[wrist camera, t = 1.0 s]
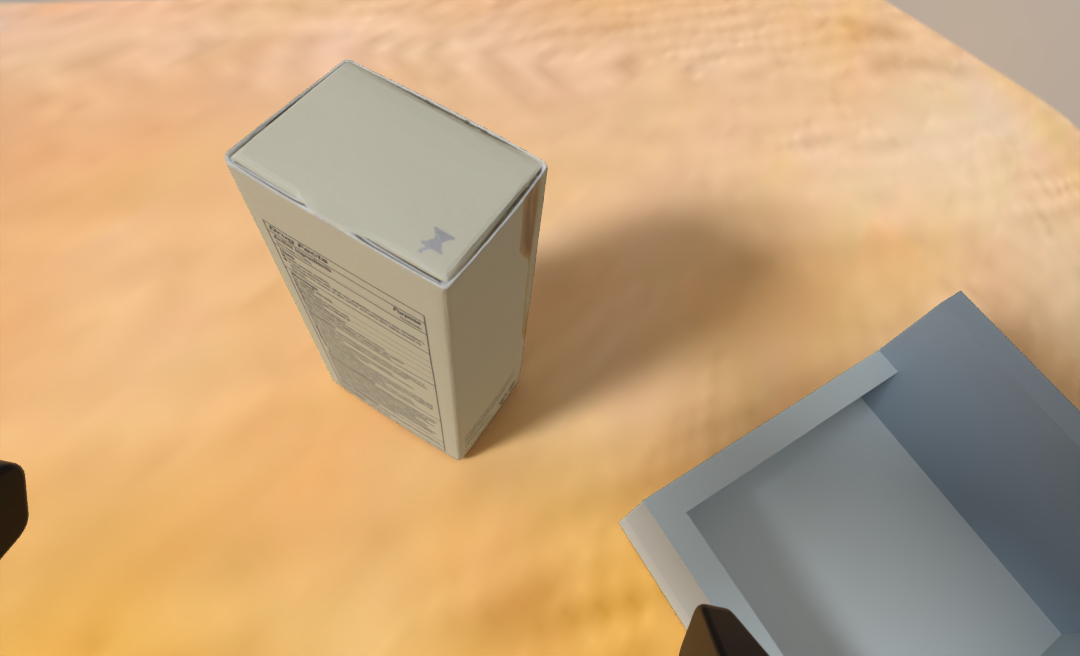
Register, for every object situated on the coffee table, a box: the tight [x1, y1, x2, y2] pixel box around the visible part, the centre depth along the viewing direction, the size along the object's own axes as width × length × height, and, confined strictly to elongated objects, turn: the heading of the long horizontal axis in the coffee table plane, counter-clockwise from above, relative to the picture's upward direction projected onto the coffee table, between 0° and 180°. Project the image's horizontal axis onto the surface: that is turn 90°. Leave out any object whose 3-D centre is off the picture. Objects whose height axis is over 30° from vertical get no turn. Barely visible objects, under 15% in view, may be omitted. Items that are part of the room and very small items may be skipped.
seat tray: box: [619, 291, 1080, 656], centre depth 20 cm, size 12×12×7 cm
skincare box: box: [225, 60, 547, 460], centre depth 20 cm, size 6×4×12 cm
